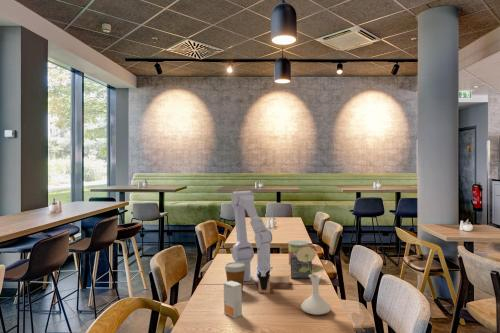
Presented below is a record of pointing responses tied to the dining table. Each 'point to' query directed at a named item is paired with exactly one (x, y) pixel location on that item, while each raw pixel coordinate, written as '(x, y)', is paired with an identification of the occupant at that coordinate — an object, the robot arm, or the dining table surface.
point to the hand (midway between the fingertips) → (264, 287)
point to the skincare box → (233, 298)
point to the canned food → (296, 248)
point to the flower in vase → (315, 301)
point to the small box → (298, 265)
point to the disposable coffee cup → (235, 272)
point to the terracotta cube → (266, 289)
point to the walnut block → (279, 282)
